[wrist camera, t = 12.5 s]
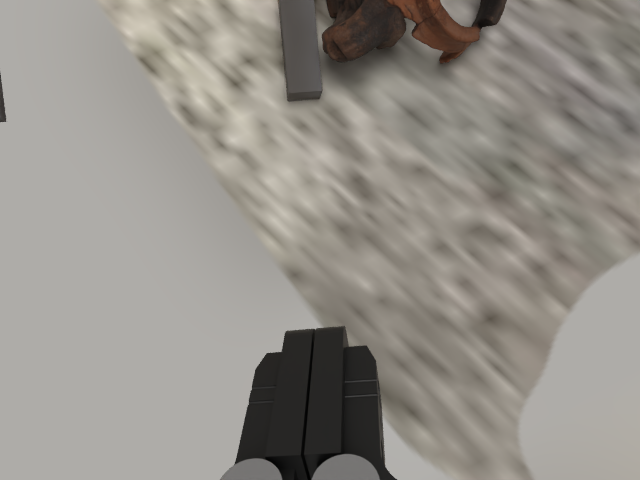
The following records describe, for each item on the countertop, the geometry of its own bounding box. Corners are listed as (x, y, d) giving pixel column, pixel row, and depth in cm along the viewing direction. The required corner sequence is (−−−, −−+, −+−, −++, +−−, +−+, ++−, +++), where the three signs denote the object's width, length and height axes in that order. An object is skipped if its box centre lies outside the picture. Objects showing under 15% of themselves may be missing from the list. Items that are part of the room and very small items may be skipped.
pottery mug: (374, -106, 32) (480, -169, 26) (438, 23, 37) (541, -2, 31) (253, 10, 29) (340, -28, 22) (341, 135, 34) (433, 133, 27)
